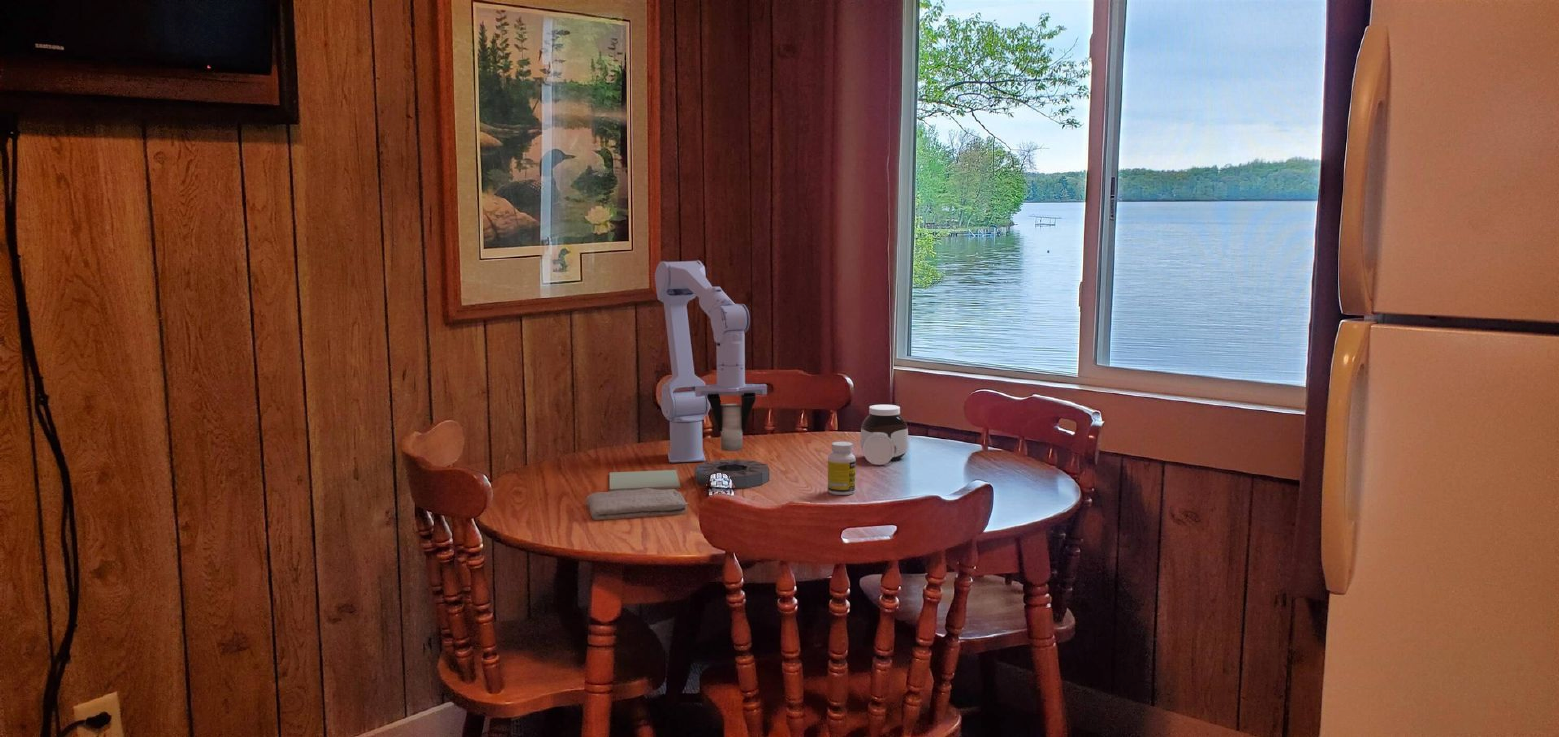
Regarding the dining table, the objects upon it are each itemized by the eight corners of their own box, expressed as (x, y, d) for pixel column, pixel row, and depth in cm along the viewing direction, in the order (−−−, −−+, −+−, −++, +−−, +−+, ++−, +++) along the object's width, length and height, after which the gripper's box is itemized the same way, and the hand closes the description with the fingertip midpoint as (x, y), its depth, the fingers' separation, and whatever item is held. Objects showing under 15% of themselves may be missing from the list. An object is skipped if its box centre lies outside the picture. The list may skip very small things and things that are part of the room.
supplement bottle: (853, 496, 210) (853, 446, 209) (825, 495, 211) (825, 445, 210) (857, 489, 215) (857, 441, 214) (830, 488, 216) (830, 440, 215)
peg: (720, 447, 225) (719, 404, 223) (741, 446, 225) (740, 403, 224) (722, 451, 220) (721, 407, 219) (743, 450, 221) (743, 407, 220)
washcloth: (690, 516, 198) (690, 499, 198) (591, 524, 194) (591, 507, 193) (679, 500, 210) (679, 484, 209) (585, 507, 205) (584, 491, 205)
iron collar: (693, 472, 230) (693, 461, 230) (763, 469, 232) (763, 458, 232) (699, 490, 215) (698, 477, 215) (773, 486, 218) (773, 474, 217)
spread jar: (897, 453, 248) (898, 402, 246) (919, 463, 237) (919, 411, 236) (848, 457, 244) (848, 406, 243) (868, 468, 234) (868, 414, 232)
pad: (609, 474, 229) (609, 472, 229) (676, 471, 231) (676, 469, 231) (609, 490, 215) (609, 488, 215) (680, 487, 217) (680, 485, 217)
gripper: (696, 367, 215) (697, 435, 217) (768, 366, 218) (769, 432, 219) (693, 363, 222) (694, 428, 224) (764, 361, 224) (764, 425, 226)
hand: (731, 430), depth 222 cm, fingers closed on peg, 4 cm apart
